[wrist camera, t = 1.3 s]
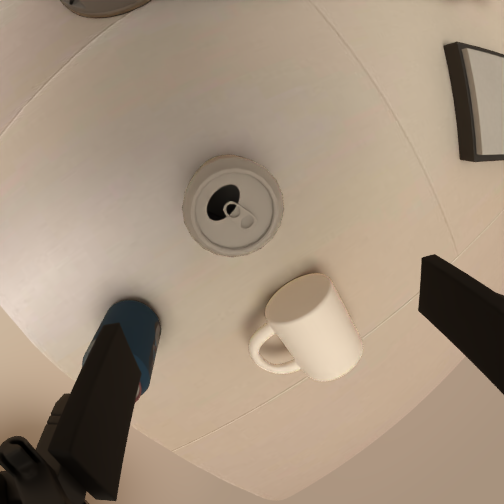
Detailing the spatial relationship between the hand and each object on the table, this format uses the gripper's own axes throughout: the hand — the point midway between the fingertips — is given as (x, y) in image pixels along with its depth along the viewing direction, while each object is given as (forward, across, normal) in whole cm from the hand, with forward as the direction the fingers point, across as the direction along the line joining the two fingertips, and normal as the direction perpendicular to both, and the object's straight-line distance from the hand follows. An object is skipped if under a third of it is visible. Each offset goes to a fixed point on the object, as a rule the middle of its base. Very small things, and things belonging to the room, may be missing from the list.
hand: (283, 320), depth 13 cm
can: (+23, -1, +2) cm, 23 cm away
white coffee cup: (+23, +4, -15) cm, 27 cm away
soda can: (+23, -15, -11) cm, 29 cm away
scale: (+23, +37, +10) cm, 45 cm away
